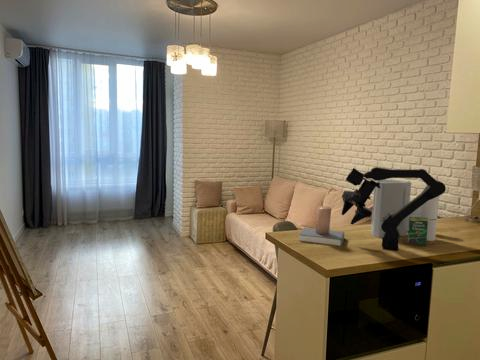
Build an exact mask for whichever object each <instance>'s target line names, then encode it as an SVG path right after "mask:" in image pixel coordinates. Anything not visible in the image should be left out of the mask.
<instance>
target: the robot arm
mask: <svg viewBox="0 0 480 360" xmlns="http://www.w3.org/2000/svg"><path fill="white" fill-rule="evenodd" d="M384 179H385V180H390V179H420V180H421V181H422V182H423V183H425V185H426V186H425V187H424V189H423V190H422V191H421V193H420V194H418V195H417V196H416V197H415V198H413V199H412V200H410V202H409V203H408V204H407V205H406V206H404V207H403V208H402V209H400V210H399V211H398V212H397V213H395V214H392V215H391V214H390V213H388V214H387V215H386V216H385V217H383V220H382V221H381V228H382V230H383V231H384V232H385V234H384V237H383V238H381V240H382V241H381V247H382V250H389V251H396V252H398V251H399V241H400V236H399V235H400V234H399V231H398V229H397V227H398V226H399V224H400V223H401V221H402V220H403V219H405V218H406V217H407V216H409V215H410V214H411V213H413V212H414V211H415V210H417V209H418V208H419V207H420V206H422V205H423V204H424V203H426V202H427V201H428V200H431V199H433V198H436V197H438V196H439V197H440V196H441V195H443V194H445V192H446V185H445V183H443V182H442V181H440V180H438V179H437V180H436V179H435V178H434V177H433V176H432V175H431V174H429V173H428V171H427V170H426V169H425V168H418V169H417V168H416V169H414V168H413V169H411V168H410V169H409V168H408V169H407V168H405V169H402V168H401V169H397V168H396V169H391V168H387V167H380V166H374V167H372V168H371V169H370V171H366V172H364V173H363V172H361V171H359V170H358V169H356V168H355V167H353V168H352V169H351V171H350V173H348V175H347V177H346V178H345V182H348V183H349V184H351V185H353V186H354V187H357V186H360V187H359V188H358V189H355V190H354V191H351V190H350V191H349V190H344V191H343V194H342V195H341V198H342V201H343V206H342V210H341V215H342V216H344V215H345V214H347V212H348V211H349V210H351V208H353V206H355V207H356V209H354V213H355V214H354V216H353V218H352V219H351V221H350V225H354V224H355V223H358V222H359V221H361V220H363V219H365V218H371V217H372V210H370V209H369V208H368V207H366V206H367V205H366V202H367V201H368V200H371V199H372V197H371V194H372V193H374V189H375V187H378V188H380V182H375V180H376V181H378V180H384Z"/></svg>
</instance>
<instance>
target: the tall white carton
mask: <svg viewBox="0 0 480 360" xmlns="http://www.w3.org/2000/svg"><path fill="white" fill-rule="evenodd" d="M374 181H375V182H380V188H378V187H375V189H374V190H373V197H372V210H371V211H372V215H371V225H370V227H371V228H370V232H371V234H372V235H371V236H373V237H376V238H377V239H382V238H383V237H384V234H385V232H384V231H383V230H382V228H381V221H382V220H383V217H385V216H386V215H387V214H388V213H390V214H391V215H392V214H395V213H397V212H398V211H399V210H400V209H402V208H403V207H404V206H406V205H407V204H408V203H409V202H411V189H412V181H406V180H398V179H396V180H395V179H384V180H378V181H376V180H374ZM407 225H408V216H407V217H406V218H405V219H403V220H402V221H401V223H400V224H399V226H398V227H397V229H398V231H399V234H400V235H399V237H401V236H403V237H404V236H407V235H408V233H407V232H408V231H407Z"/></svg>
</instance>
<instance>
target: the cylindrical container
mask: <svg viewBox="0 0 480 360" xmlns="http://www.w3.org/2000/svg"><path fill="white" fill-rule="evenodd" d="M439 203H440V196H438V197H436V198H433V199H431V200H428V201H427V202H426V203H424V204H423V205H422V214H421V218H428V228H427V242H433V241H436V234H437V233H436V232H437V224H438V215H439V205H440V204H439Z"/></svg>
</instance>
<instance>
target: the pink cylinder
mask: <svg viewBox="0 0 480 360" xmlns="http://www.w3.org/2000/svg"><path fill="white" fill-rule="evenodd" d="M331 215H332V207H330V206H325V205H320V206H317V213H316V224H315V225H316V226H315V229H316V233H317V234H320V235H328V234H329V231H330V228H331V218H332V216H331Z"/></svg>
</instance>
